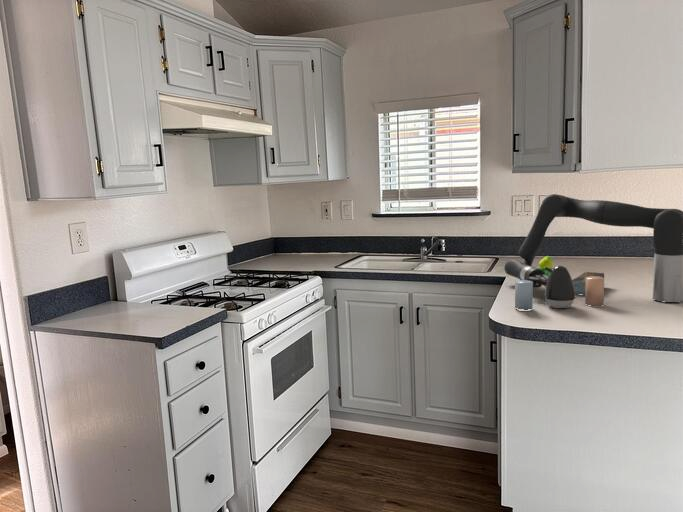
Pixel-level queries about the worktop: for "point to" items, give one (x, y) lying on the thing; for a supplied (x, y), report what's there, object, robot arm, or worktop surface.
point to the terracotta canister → (594, 291)
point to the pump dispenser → (559, 288)
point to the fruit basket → (545, 264)
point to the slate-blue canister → (524, 294)
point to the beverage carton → (583, 281)
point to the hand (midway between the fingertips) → (552, 284)
